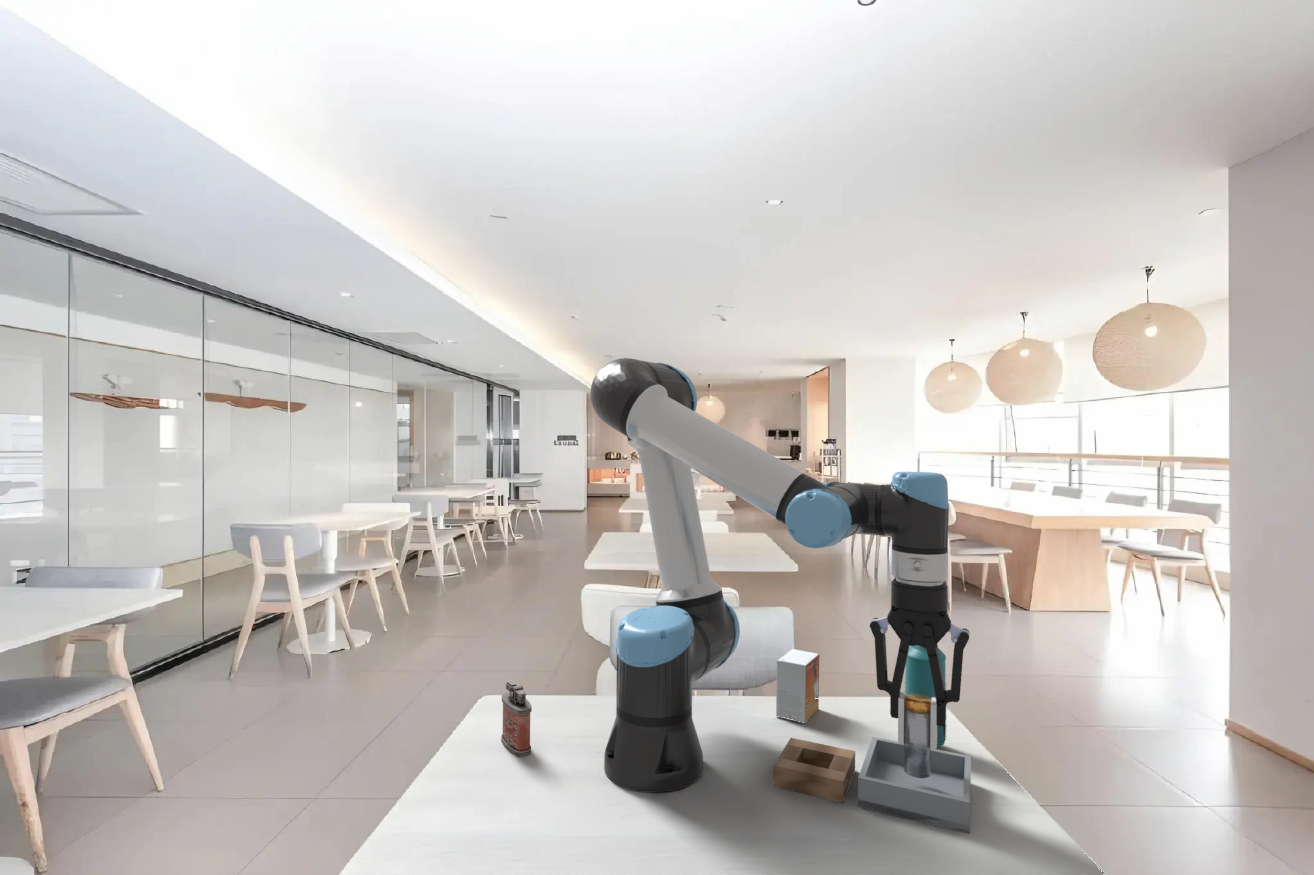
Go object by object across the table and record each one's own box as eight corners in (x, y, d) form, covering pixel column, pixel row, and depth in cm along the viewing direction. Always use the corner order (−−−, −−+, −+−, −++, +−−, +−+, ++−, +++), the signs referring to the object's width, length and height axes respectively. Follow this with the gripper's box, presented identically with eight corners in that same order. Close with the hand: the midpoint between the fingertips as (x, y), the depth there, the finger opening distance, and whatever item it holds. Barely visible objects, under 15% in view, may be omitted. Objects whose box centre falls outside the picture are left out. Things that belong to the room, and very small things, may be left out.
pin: (902, 774, 95) (903, 700, 95) (905, 763, 99) (905, 692, 99) (930, 780, 94) (930, 705, 94) (931, 769, 97) (932, 696, 97)
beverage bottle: (950, 759, 107) (952, 633, 107) (906, 754, 108) (908, 630, 108) (941, 740, 113) (943, 622, 113) (900, 736, 115) (901, 619, 114)
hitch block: (773, 785, 98) (773, 765, 98) (790, 756, 107) (790, 737, 107) (843, 802, 94) (843, 781, 94) (855, 770, 103) (855, 751, 103)
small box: (805, 725, 119) (805, 665, 119) (775, 717, 122) (775, 659, 122) (819, 709, 126) (820, 653, 126) (791, 702, 129) (791, 647, 129)
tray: (857, 806, 93) (858, 777, 93) (872, 762, 106) (872, 736, 106) (969, 833, 87) (969, 802, 87) (970, 783, 100) (970, 756, 100)
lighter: (535, 753, 107) (536, 691, 107) (515, 759, 105) (516, 695, 105) (516, 734, 114) (516, 675, 114) (496, 739, 112) (497, 679, 112)
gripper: (854, 579, 96) (853, 742, 96) (984, 592, 89) (982, 768, 89) (863, 569, 103) (861, 722, 103) (983, 581, 96) (982, 744, 96)
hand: (917, 743), depth 96 cm, fingers closed on pin, 4 cm apart
